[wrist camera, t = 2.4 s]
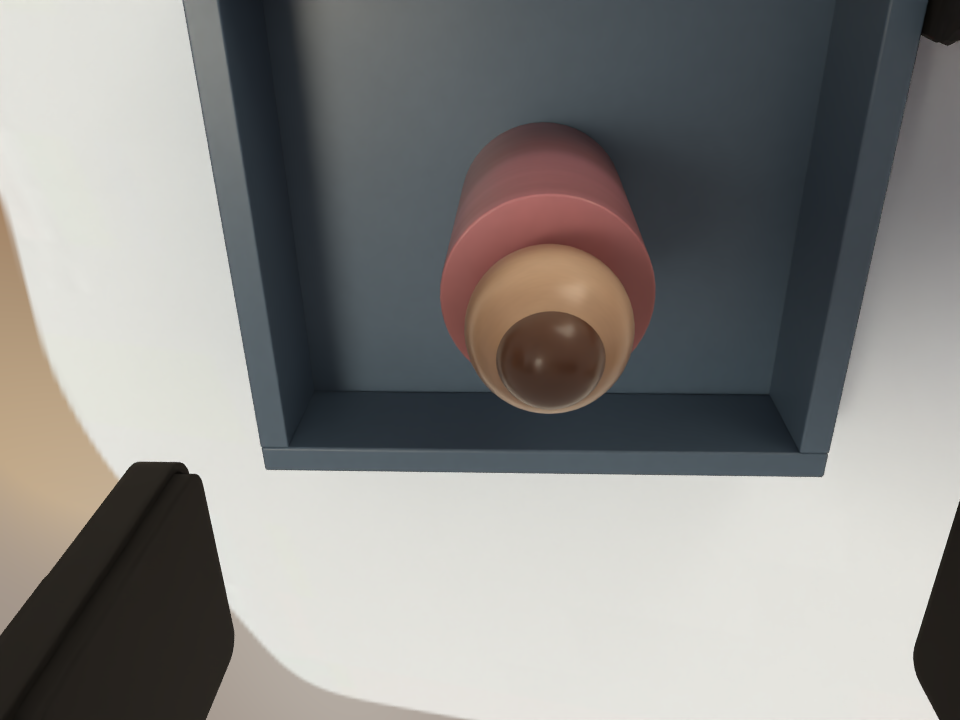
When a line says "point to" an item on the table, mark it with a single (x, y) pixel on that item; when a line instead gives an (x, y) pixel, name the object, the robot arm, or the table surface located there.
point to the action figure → (942, 21)
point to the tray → (647, 184)
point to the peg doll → (546, 270)
